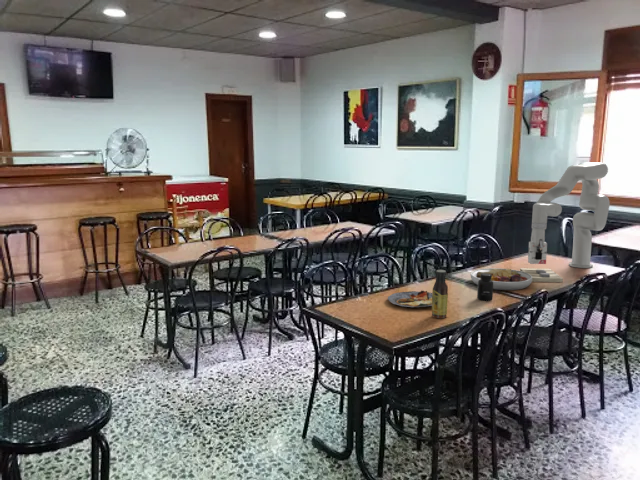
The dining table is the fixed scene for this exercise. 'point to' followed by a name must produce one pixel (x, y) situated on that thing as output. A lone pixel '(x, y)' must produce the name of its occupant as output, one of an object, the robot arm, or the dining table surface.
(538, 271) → the grey mark
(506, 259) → the dining table surface
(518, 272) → the bowl
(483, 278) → the supplement bottle
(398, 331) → the dining table surface
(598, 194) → the robot arm
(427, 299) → the food plate
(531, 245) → the ink box
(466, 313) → the dining table surface
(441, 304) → the sauce bottle
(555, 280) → the birch board
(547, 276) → the grey mark
